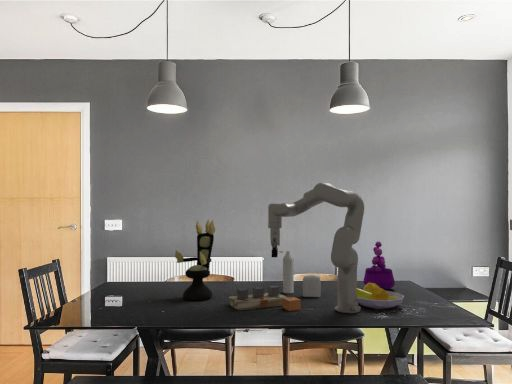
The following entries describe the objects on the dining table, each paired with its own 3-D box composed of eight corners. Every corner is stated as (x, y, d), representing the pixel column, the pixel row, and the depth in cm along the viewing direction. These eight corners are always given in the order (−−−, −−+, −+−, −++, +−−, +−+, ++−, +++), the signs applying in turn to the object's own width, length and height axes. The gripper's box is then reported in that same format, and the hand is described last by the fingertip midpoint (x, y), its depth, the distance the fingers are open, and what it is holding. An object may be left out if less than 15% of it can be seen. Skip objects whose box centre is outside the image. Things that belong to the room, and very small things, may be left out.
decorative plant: (399, 292, 242) (398, 242, 243) (368, 292, 243) (367, 242, 244) (389, 286, 261) (388, 240, 262) (360, 286, 261) (360, 240, 263)
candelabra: (173, 299, 226) (174, 219, 228) (197, 292, 246) (197, 218, 247) (201, 303, 217) (201, 219, 219) (223, 295, 237) (223, 218, 238)
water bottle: (294, 291, 246) (294, 250, 247) (292, 293, 239) (292, 251, 240) (280, 290, 248) (280, 250, 249) (278, 293, 242) (278, 251, 243)
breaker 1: (248, 300, 209) (248, 289, 209) (240, 301, 207) (240, 290, 207) (244, 298, 213) (244, 288, 213) (237, 299, 211) (237, 289, 211)
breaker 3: (279, 297, 216) (278, 287, 216) (271, 298, 214) (271, 287, 214) (275, 295, 220) (275, 285, 220) (268, 296, 218) (268, 286, 218)
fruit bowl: (407, 303, 215) (407, 282, 216) (397, 315, 192) (397, 291, 192) (356, 297, 229) (356, 277, 230) (340, 308, 206) (340, 285, 206)
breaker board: (288, 305, 212) (288, 296, 212) (238, 310, 201) (238, 301, 201) (276, 299, 225) (276, 290, 226) (229, 304, 214) (229, 295, 214)
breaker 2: (263, 298, 212) (263, 288, 213) (256, 299, 211) (256, 289, 211) (260, 297, 216) (260, 286, 217) (252, 297, 215) (252, 287, 215)
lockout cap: (300, 309, 203) (300, 299, 203) (289, 311, 200) (289, 301, 200) (294, 306, 209) (294, 297, 209) (283, 308, 206) (283, 298, 206)
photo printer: (320, 295, 234) (320, 274, 234) (321, 297, 230) (320, 275, 230) (302, 295, 235) (302, 274, 235) (302, 297, 231) (302, 275, 231)
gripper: (281, 226, 217) (281, 258, 216) (281, 224, 234) (281, 254, 233) (267, 226, 217) (267, 258, 217) (268, 224, 234) (268, 254, 234)
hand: (274, 256), depth 225 cm, fingers open, 9 cm apart
